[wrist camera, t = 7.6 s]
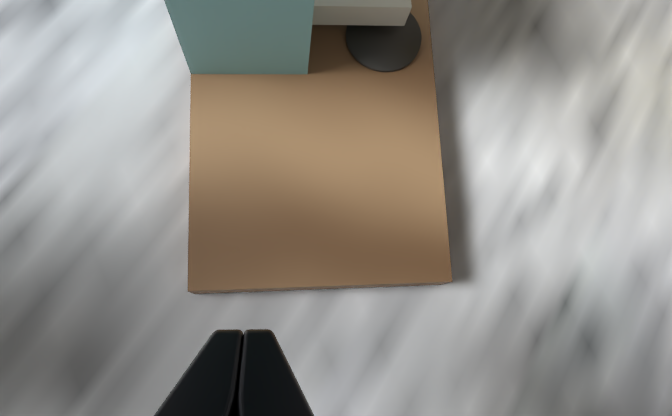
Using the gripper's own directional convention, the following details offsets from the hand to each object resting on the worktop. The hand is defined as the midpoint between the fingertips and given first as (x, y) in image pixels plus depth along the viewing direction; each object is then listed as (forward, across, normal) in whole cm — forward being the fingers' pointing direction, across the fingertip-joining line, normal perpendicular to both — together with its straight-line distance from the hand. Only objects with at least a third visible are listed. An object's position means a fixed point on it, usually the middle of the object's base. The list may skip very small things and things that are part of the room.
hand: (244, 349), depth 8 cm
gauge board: (+12, -2, 0) cm, 12 cm away
